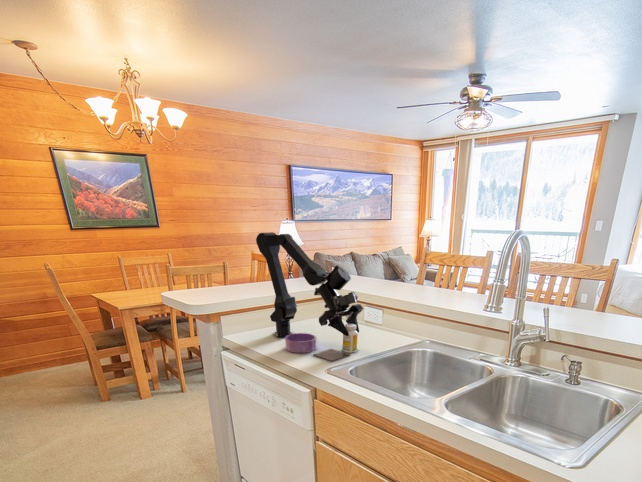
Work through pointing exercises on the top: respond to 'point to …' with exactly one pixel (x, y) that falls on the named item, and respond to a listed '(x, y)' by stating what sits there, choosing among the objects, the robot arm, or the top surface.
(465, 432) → the top surface
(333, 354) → the coaster
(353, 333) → the supplement bottle
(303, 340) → the dish
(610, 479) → the top surface
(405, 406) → the top surface
